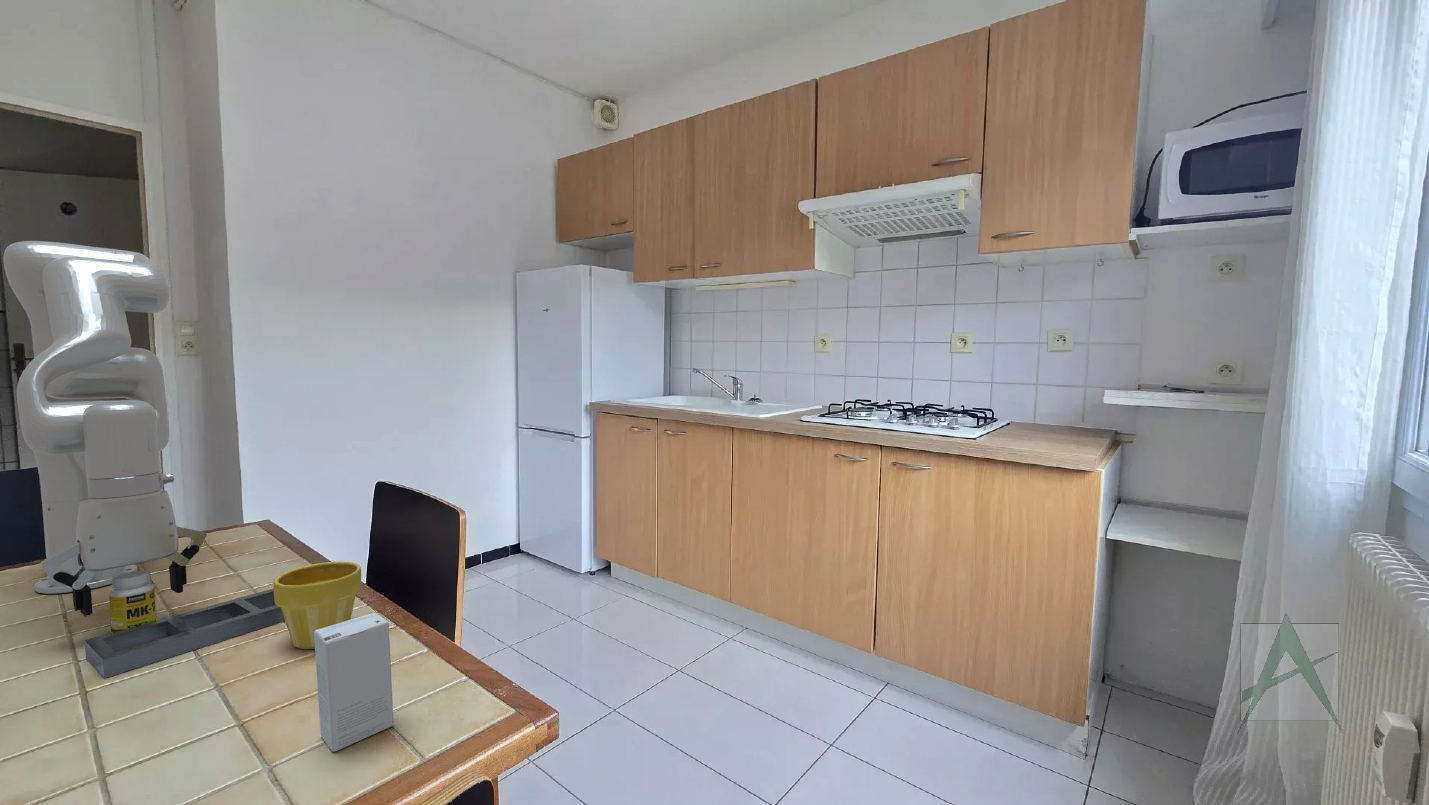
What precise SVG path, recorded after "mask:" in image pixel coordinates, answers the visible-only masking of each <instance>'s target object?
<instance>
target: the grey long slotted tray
mask: <svg viewBox="0 0 1429 805" xmlns="http://www.w3.org/2000/svg"><path fill="white" fill-rule="evenodd" d="M283 622H285V619H284V615H283V612H282V609H281V608H280V607H278V606H277V605H276V604H275V600H274V587H272V588H270V589H267V590H264V591H260V592H256V593H251V594H248V595H245V596H241V597H238V598H237V597H236V598H234V599H231V600H227V601H222V602H219V603H216V604H213V605H212V604H211V605H209V606H204V607H201V608H197V609H194V610H189V611H186V612H183V613H179V614H175V615H172V616H168V617H164V618H160V619H156V621H153V622H150V623H146V624H142V625H139V626H135V627H131V628H128V629H124V630H120V631H117V632H113V633H111V632H110V633H106V634H103V635H99V636H96V637H92V638H91V637H90V638H88V639H85V640H84V641H83V642H84V654H85V655H84V656H85V659H86V660H87V661H88V662H89V663H90V664H91V666H92V667H93V668H95V670H96V671H97V672H98V673H99V674H100V676H101V677H103V679H107V678H110V677H113V676H117V675H120V674H123V673H126V672H129V671H133V670H136V669H138V668H143V667H145V666H148V665H151V664H154V663H157V662H161V661H164V660H167V659H170V658H174V657H176V656H179V655H184V654H186V653H189V652H192V651H195V650H198V649H202V648H204V647H207V646H211V645H214V644H217V643H221V642H223V641H226V640H230V639H232V638H236V637H240V636H242V635H245V634H249V633H251V632H255V631H257V630H261V629H264V628H267V627H270V626H274V625H277V624H280V623H283Z"/></svg>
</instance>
